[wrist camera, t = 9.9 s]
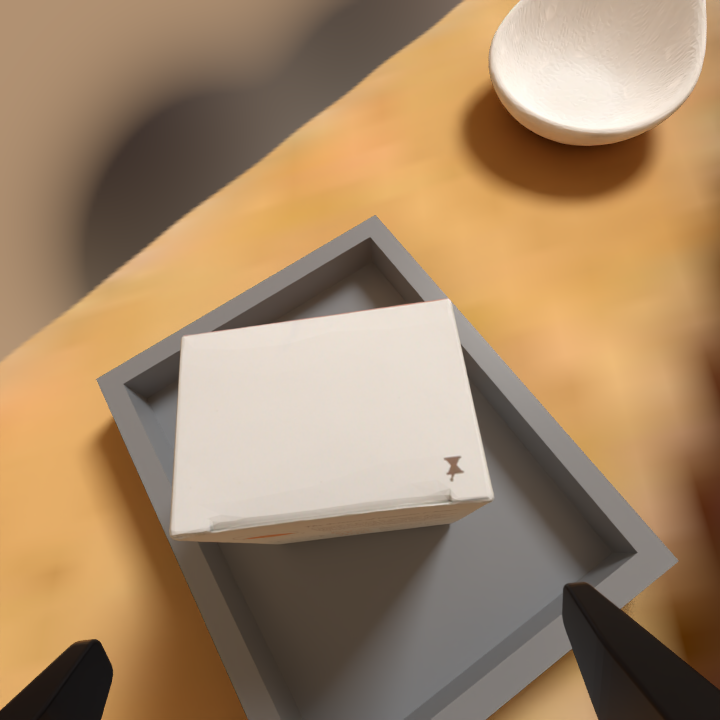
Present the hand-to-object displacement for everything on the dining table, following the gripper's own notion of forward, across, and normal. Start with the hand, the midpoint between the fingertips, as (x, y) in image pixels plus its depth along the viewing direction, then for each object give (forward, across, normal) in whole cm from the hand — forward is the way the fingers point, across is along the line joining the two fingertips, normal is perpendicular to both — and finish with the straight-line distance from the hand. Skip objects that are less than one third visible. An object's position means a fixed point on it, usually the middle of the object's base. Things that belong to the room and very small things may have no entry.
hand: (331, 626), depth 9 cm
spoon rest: (+31, -20, -13) cm, 40 cm away
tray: (+12, 0, +5) cm, 13 cm away
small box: (+12, 0, +5) cm, 13 cm away
